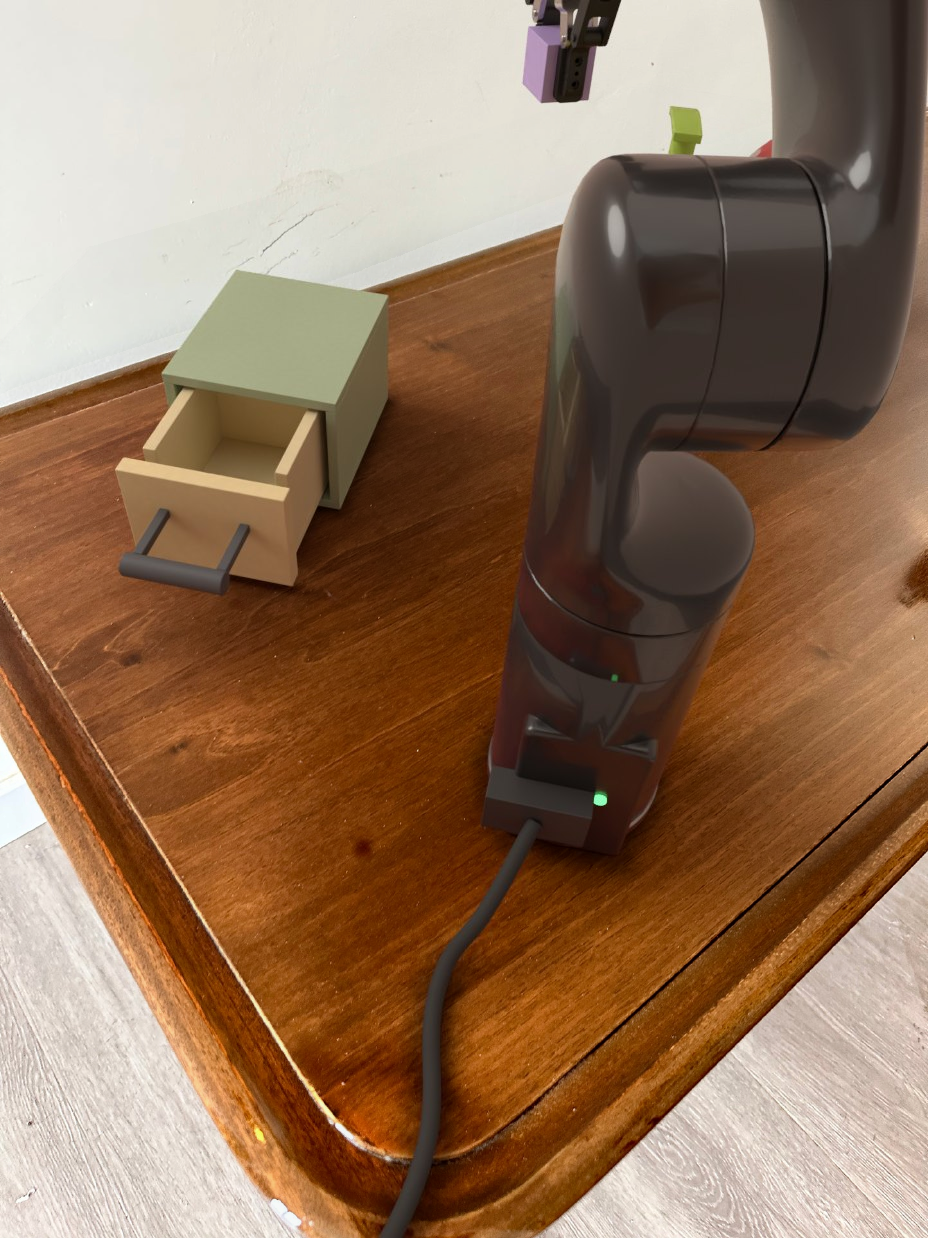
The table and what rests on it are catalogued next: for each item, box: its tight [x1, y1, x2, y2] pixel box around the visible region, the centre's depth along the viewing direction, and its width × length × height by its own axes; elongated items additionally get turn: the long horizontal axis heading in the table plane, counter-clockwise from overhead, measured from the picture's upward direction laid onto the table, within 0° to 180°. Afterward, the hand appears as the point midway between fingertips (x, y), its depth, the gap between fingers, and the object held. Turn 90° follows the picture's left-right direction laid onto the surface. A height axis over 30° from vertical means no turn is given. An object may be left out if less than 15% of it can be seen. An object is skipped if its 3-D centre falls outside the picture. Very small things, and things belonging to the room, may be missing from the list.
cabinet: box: [161, 269, 390, 510], centre depth 67 cm, size 13×11×9 cm
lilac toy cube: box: [521, 25, 598, 104], centre depth 72 cm, size 4×4×4 cm
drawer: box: [114, 386, 329, 596], centre depth 60 cm, size 18×10×7 cm, turn 169°
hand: (555, 87), depth 73 cm, fingers closed on lilac toy cube, 4 cm apart
